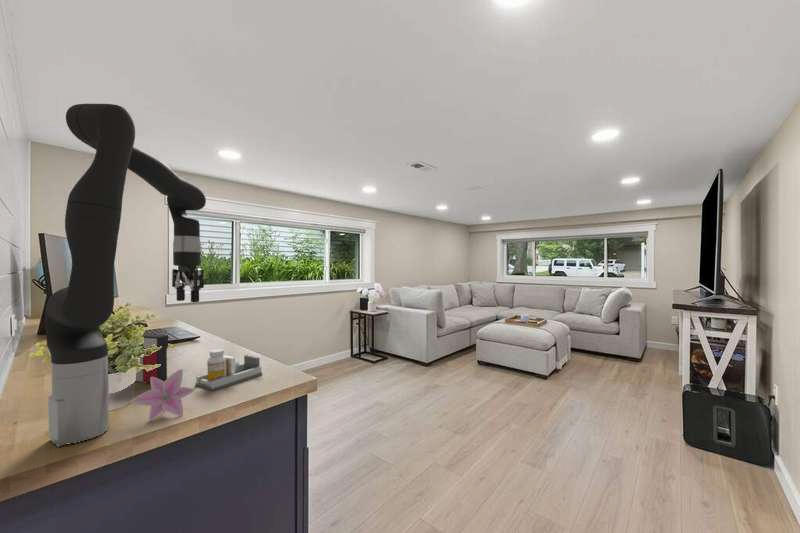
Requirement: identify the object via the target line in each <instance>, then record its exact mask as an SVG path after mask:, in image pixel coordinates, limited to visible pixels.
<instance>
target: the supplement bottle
mask: <svg viewBox="0 0 800 533" xmlns="http://www.w3.org/2000/svg"><path fill="white" fill-rule="evenodd" d="M223 355H225V349H223V348H216V349H212V350H209V358H207V362H206V364H207V366H206V367H207V374H208V380H209V381H213V380H217V379H220V378H223V377H227V359H226V357H225V356H223Z"/></svg>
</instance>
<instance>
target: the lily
mask: <svg viewBox="0 0 800 533" xmlns="http://www.w3.org/2000/svg"><path fill="white" fill-rule="evenodd" d="M183 372H184V371H183V369H178V370H177V371H175V372H173V373H172V374H171V375H170V376H168V377H167V379H166V380H165V382H164V381H162V380H160V379H158V378H155V377H151V378H150V383H149V384H150V388H151V389H150V390H146V391H144V392H142V393H141V394H139V395H137V396H135V397H134V398H132V399H131V401H130V402H131V403H132V404H136V405H141V406H149V407H150V411H149V414H148V415H149V416H148V421H149V422H150V420H152V421H154V419H156V418H157V417H158V416H159V415H161V413H162V412H164V411H166V412H168V413H170V414H172V415H175V416H178V417H182V416H184V408H183V407H184V406H183V400H182V398H185V397H187V396H189V395H191V394H192V393H193V392H195V388H191V387H185V386H182V381H183V375H184V373H183Z"/></svg>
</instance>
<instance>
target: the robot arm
mask: <svg viewBox="0 0 800 533" xmlns="http://www.w3.org/2000/svg"><path fill="white" fill-rule="evenodd" d="M65 122H66V125H67V127H68V129H69V131H70V132H71V133H72V134H73V136H74V137H75V138H77V139H78V140H79V141H81V143H84V144H85V145H87V146H89V147H90V148H92V149H94V150H96V151H95V155H94V158H93V160H92V162H91V164H90V166H89V167H88V168H87V170H86V171H85V173H83V175H82V176H81V177H80V178H79V179H78V180H77V182H76V183H75V184H74V186H73V187H72V189H71V191H70V192H69V194H68V196H67V197H68V198H67V201H66V202H67V203H66V207H65V208H66V209H65V217H64V231H65V235H66V241H67V244H68V249H69V252H70V257H71V270H70V275H69V282H68V286H66V287H63V288H61V289H59V290H56V291H55V292H54V293H53V294H52V295H51V296H49V298H48V300H47V302H46V306H45V310H44V311H45V314H44V320H45V334H46V335H45V336H46V346H47V349H48V351H49V354H50V363H51V365H50V366H51V367H50V368H51V395H49V396H48V400H47V402H48V439H49V438H50V439H51V440H52V441H53V442H54V443H55V444H56V445H58V446H61V445H64V444H67V443H74V442H79V441H83V440H86V439H90V438H92V439H94V438H93V437H95V438H97V437H99V436H101V435H103V434H105V433H106V432H107V431H108V430H109V429H108V428H110V417H109V416H110V412H109V411H110V409H109V408H110V404H109V403H110V402H109V399H110V398H109V345H108V343H107V341H106V340H105V339H104V337H103V336H102V334H101V329H100V327H101V326H102V325H104V324H105V323H106V322H107V321H108V320H109V319H110V317H111V315H112V314H113V310H114V306H115V291H114V290H115V289H114V287H115V285H114V284H115V281H114V280H115V277H114V276H115V275H114V274H115V260H116V254H117V249H118V248H117V247H118V238H119V232H120V227H121V226H120V225H121V217H122V209H123V208H122V206H123V196H124V191H125V184H126V178H127V171H128V170H129V171H131V172H132V173H133V174H135V175H136V176H138V177H140V178H141V179H142V180H143V181H145V182H146V183H148V185H150V186H152V188H154V189H155V190H156V191H158V193H160V194H162V195H164V196H166V203H167V206H168V209H169V213H170V217H171V219H172V222H173V241H172V264H173V266H176V267H177V268H173V269H171V270H172V271H171V273H172V274H171V278H172V279H171V280H172V281H171V286H172V288H174V289H175V290H176V301H178V302H181V301H185V299H186V289H185V288H186V285H187V286H189V289H190V302H191V303H199V302H200V291H201V289H204V288H205V284H204V283H205V280H204V269H202V268H197V266H201V265H202V251H201V250H202V249H201V248H202V242H201V238H200V236H201V234H200V231H201V230H200V229H201V228H200V226H201V225H200V221H199V219H197V218H193V217H189V216H188V214H187V212H186V211H199V210H200V211H201V210H203V208H204V207H205V206H206V203H207V200H206V195H205V194H204V192H203V191H202V190H201V189H200V188H199V187H198V186H196V185H194V184H193V183H191V182H189V181H187V179H186V180H185V179H184V178H182V177H180V176H178V174H177V173H176V172H175V171H173V169H171V168H170V167H169V166H168V165H167V164H165V163H164V162H163V161H161V160H160V159H158V158H156V157H154V156H152V155H150V154H149V153H146V152H144V151H142V150H141V149H139V148H137V147H135V146H134V144H135V140H136V125H135V120H134V119H133V117H132V115H131V113H130V112H129V111H128V110H127V109H126V108H125V107H123V106H121V105H118V104H112V103H78V104H76V103H75V104H73V105H72V106H70V107H69V108H68V109H67V110H66V112H65ZM105 431H106V432H105ZM104 432H105V433H104ZM96 436H97V437H96ZM90 440H91V439H90ZM83 442H84V441H83ZM79 443H80V442H79ZM55 444H54V445H55ZM56 445H55V446H56ZM64 446H65V445H64ZM61 447H62V446H61Z"/></svg>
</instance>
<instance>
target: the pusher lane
mask: <svg viewBox="0 0 800 533" xmlns="http://www.w3.org/2000/svg"><path fill="white" fill-rule="evenodd" d="M243 360H244V361H243V362H244V363H239V364H240V367H239V369H236V370H235V374H233V375H230V376H227V377H223V378H220V379H217V380H213V381H209V380H208V373H204V374H200V375H198V376H195V379H196V381H195V383H194V384H195V385H196V386H198V387H201V388H204V389H207V390H210V391H213V392H214V391H218V390H220V389H221V390H222V389H223V388H226V387H229V386H232V385H235V384H238V383H242V382H244V381H247V380H250V378H251V379H253V377H254V378H256V376H257V377H259V376H258V375H260V376H262V375H263V372H262V366H260V361H261V360H260V357H257V356H253V355H249V354H245V355H244V357H243ZM261 374H262V375H261Z"/></svg>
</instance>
